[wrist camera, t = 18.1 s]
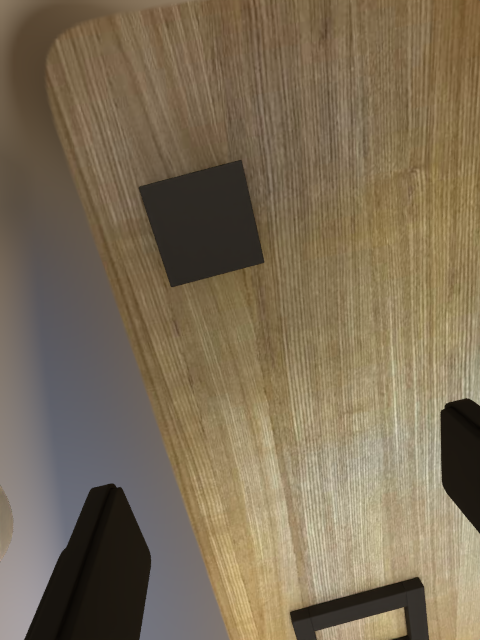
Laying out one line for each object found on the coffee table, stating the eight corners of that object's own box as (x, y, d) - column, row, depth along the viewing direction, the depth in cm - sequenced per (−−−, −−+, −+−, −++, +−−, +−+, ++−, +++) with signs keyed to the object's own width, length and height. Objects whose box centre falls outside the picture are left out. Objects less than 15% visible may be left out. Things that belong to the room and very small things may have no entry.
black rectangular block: (175, 277, 24) (171, 287, 21) (146, 188, 22) (138, 186, 19) (257, 255, 24) (264, 262, 21) (237, 165, 22) (241, 159, 19)
